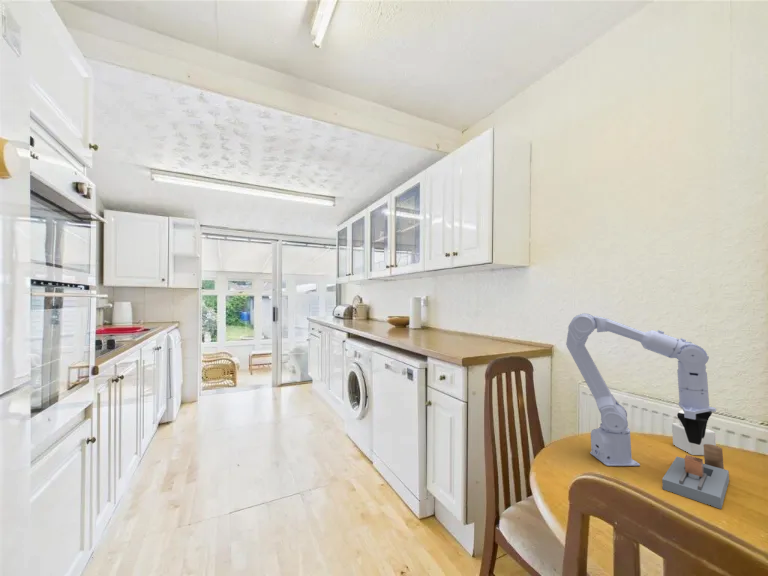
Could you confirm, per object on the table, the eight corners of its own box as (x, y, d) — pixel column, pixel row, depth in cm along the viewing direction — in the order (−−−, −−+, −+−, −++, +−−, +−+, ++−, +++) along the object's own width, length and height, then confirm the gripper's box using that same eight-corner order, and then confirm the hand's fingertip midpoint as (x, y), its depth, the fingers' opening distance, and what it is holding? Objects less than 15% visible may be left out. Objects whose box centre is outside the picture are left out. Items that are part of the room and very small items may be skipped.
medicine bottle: (696, 445, 101) (693, 407, 102) (717, 456, 94) (714, 415, 95) (672, 444, 102) (670, 407, 103) (691, 455, 95) (688, 415, 96)
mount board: (721, 509, 70) (720, 494, 71) (662, 489, 78) (661, 475, 78) (729, 480, 82) (728, 467, 82) (677, 465, 89) (676, 453, 90)
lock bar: (702, 481, 77) (701, 462, 77) (685, 476, 79) (684, 457, 80) (706, 471, 81) (705, 453, 82) (690, 466, 84) (689, 449, 84)
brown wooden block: (714, 474, 84) (712, 450, 85) (701, 467, 88) (699, 444, 88) (728, 474, 84) (726, 450, 85) (714, 467, 88) (712, 444, 88)
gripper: (710, 396, 76) (714, 453, 76) (717, 386, 85) (721, 437, 85) (671, 390, 82) (675, 444, 81) (682, 381, 91) (685, 429, 90)
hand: (696, 440), depth 83 cm, fingers open, 5 cm apart
